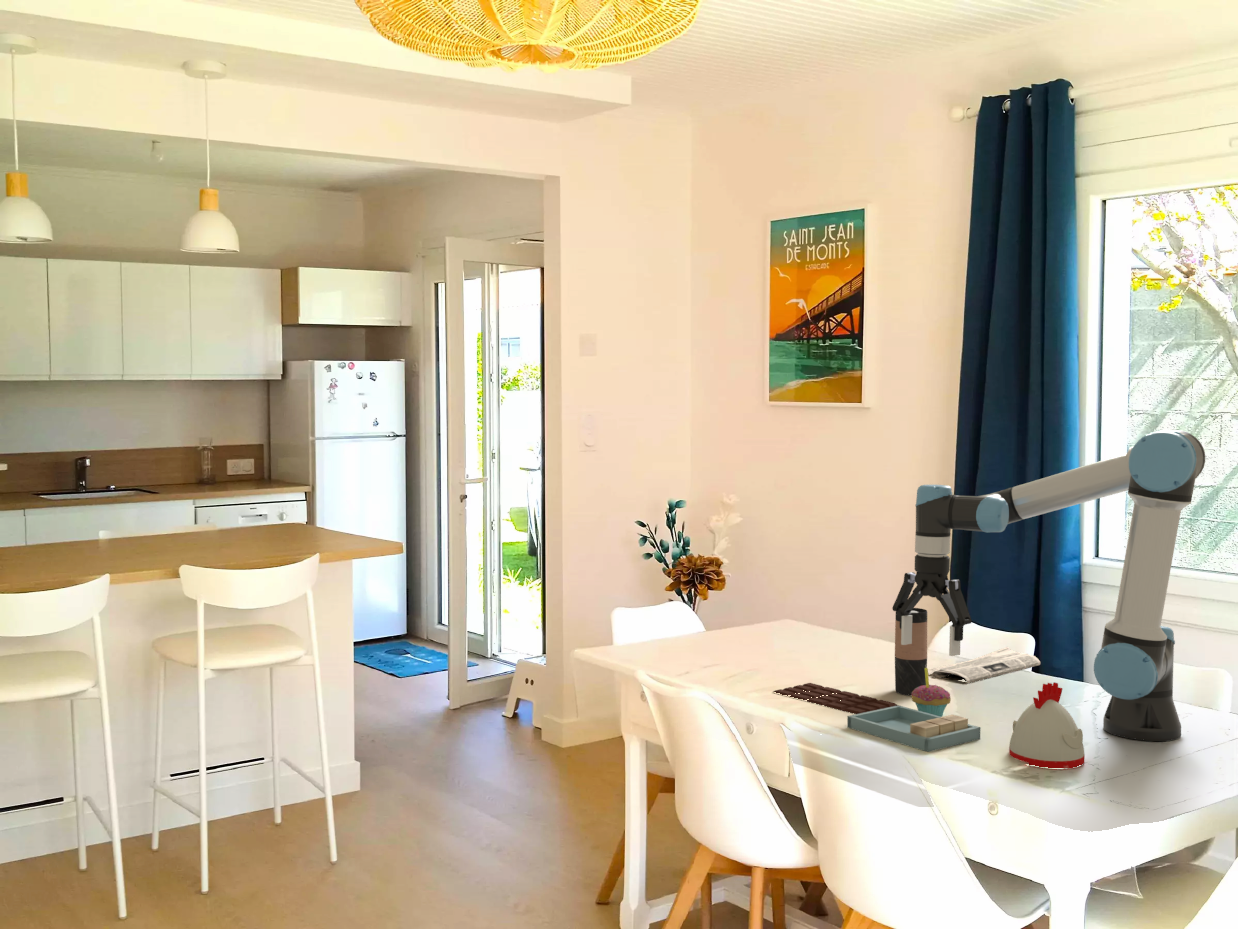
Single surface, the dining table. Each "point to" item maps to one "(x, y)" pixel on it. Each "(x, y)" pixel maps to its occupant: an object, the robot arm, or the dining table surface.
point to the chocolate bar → (835, 698)
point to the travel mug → (911, 654)
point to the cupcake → (931, 698)
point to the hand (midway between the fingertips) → (930, 649)
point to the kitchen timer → (1047, 733)
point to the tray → (908, 728)
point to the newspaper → (988, 665)
